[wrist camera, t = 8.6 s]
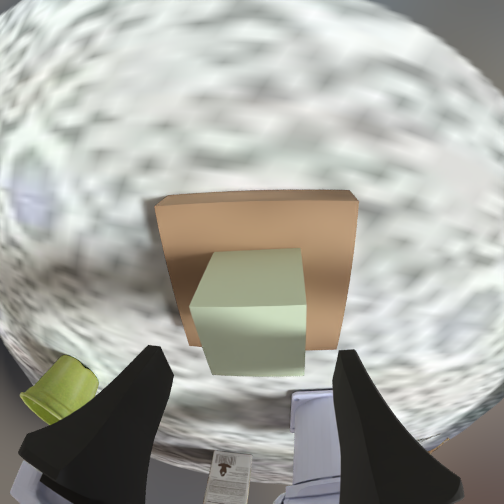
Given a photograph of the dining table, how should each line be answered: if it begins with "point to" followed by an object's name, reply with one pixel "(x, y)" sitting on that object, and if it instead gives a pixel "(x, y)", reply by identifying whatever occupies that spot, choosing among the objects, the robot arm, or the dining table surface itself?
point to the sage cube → (252, 313)
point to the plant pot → (61, 390)
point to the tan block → (265, 245)
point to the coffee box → (228, 478)
